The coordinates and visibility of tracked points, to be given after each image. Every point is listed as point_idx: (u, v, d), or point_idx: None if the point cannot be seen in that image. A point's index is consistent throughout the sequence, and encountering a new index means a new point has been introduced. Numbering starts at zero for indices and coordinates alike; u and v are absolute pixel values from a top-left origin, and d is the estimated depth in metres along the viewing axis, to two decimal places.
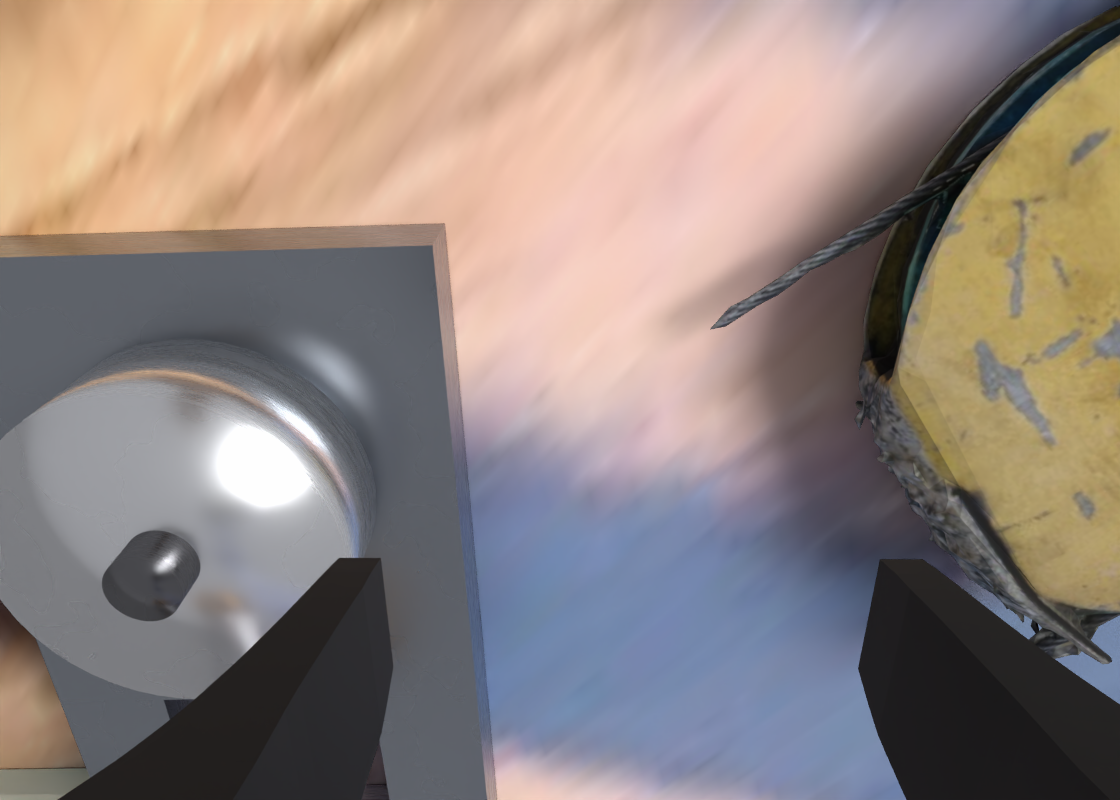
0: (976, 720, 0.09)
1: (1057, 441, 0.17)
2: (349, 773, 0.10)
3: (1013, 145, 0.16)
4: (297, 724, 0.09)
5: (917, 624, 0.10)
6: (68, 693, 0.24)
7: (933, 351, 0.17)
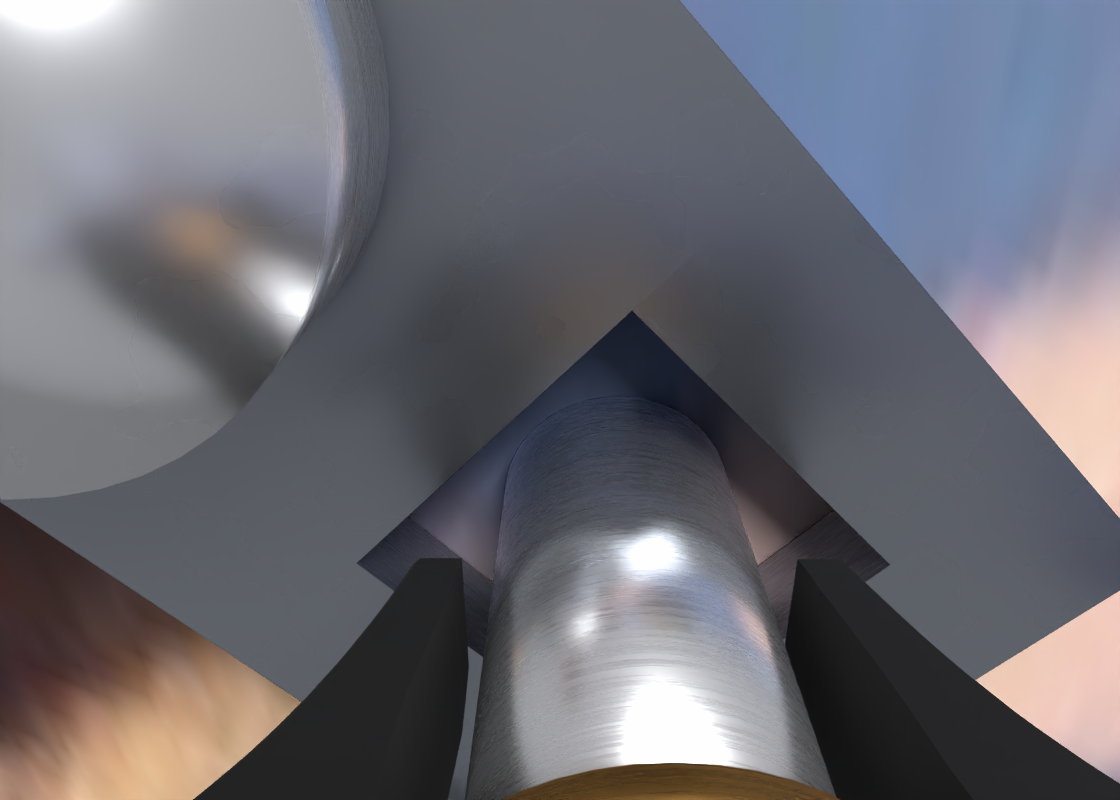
0: (871, 720, 0.09)
1: None
2: (440, 774, 0.10)
3: None
4: (407, 725, 0.09)
5: (825, 624, 0.10)
6: (242, 644, 0.14)
7: None
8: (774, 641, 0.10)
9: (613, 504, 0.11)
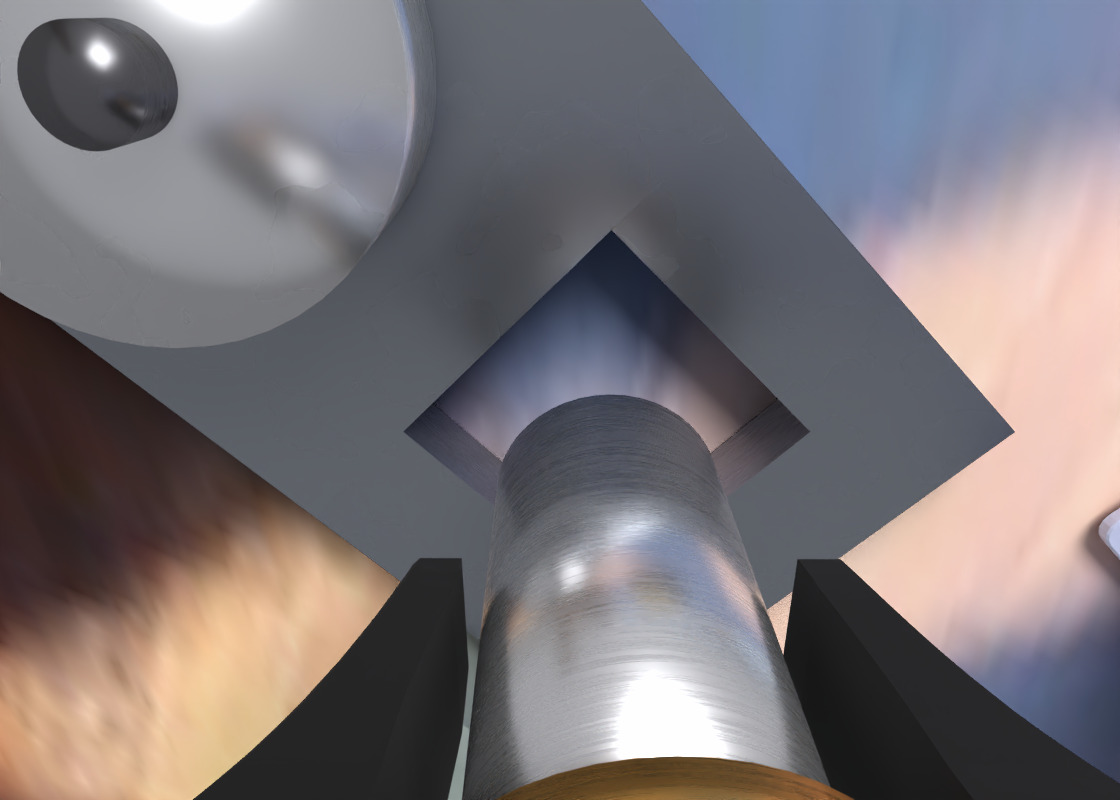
0: (871, 720, 0.09)
1: None
2: (440, 773, 0.10)
3: None
4: (407, 724, 0.09)
5: (825, 624, 0.10)
6: (313, 500, 0.18)
7: None
8: (767, 635, 0.10)
9: (606, 502, 0.11)
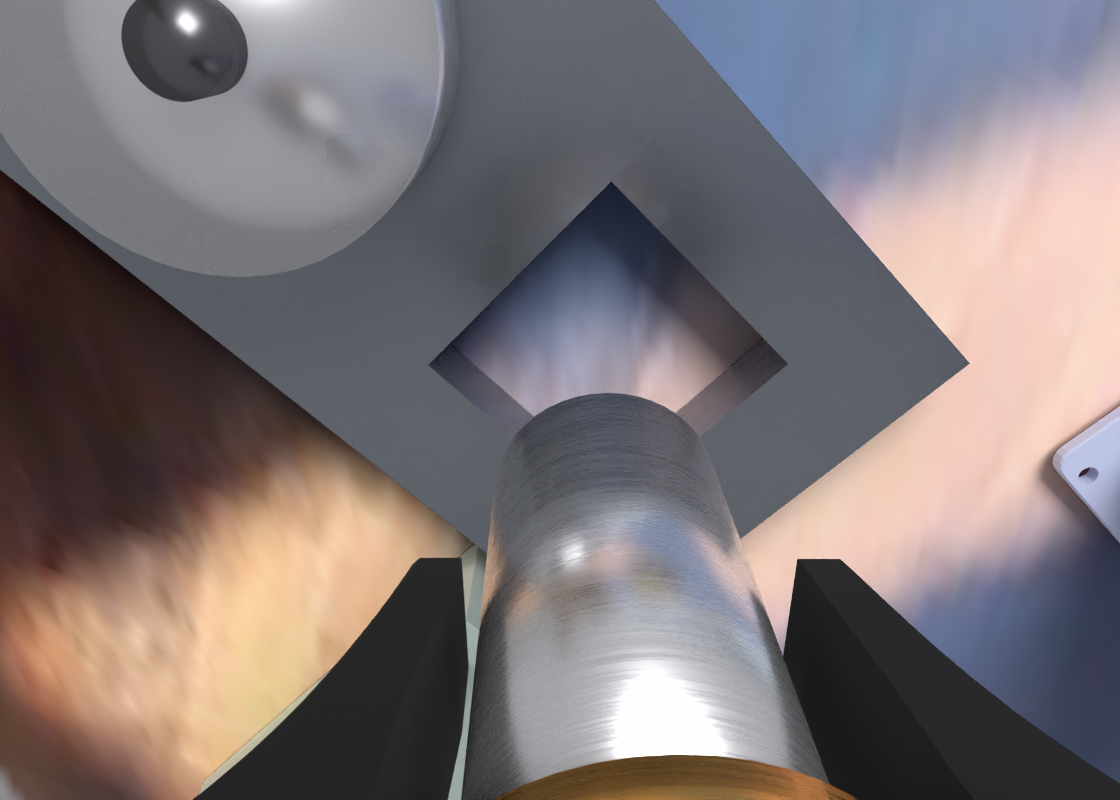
0: (872, 720, 0.09)
1: None
2: (440, 774, 0.10)
3: None
4: (406, 724, 0.09)
5: (825, 624, 0.10)
6: (347, 428, 0.20)
7: None
8: (766, 634, 0.10)
9: (604, 501, 0.11)
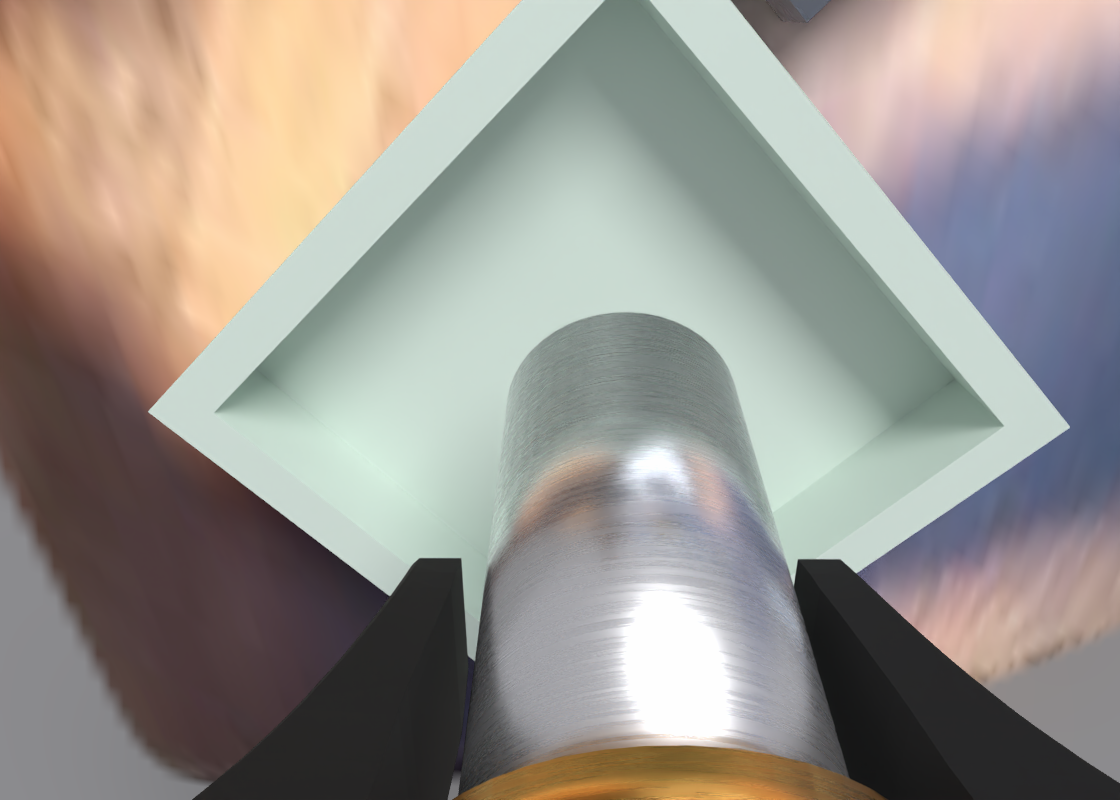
0: (872, 720, 0.09)
1: None
2: (440, 773, 0.10)
3: None
4: (405, 725, 0.09)
5: (826, 624, 0.10)
6: None
7: None
8: (785, 589, 0.09)
9: (622, 438, 0.10)
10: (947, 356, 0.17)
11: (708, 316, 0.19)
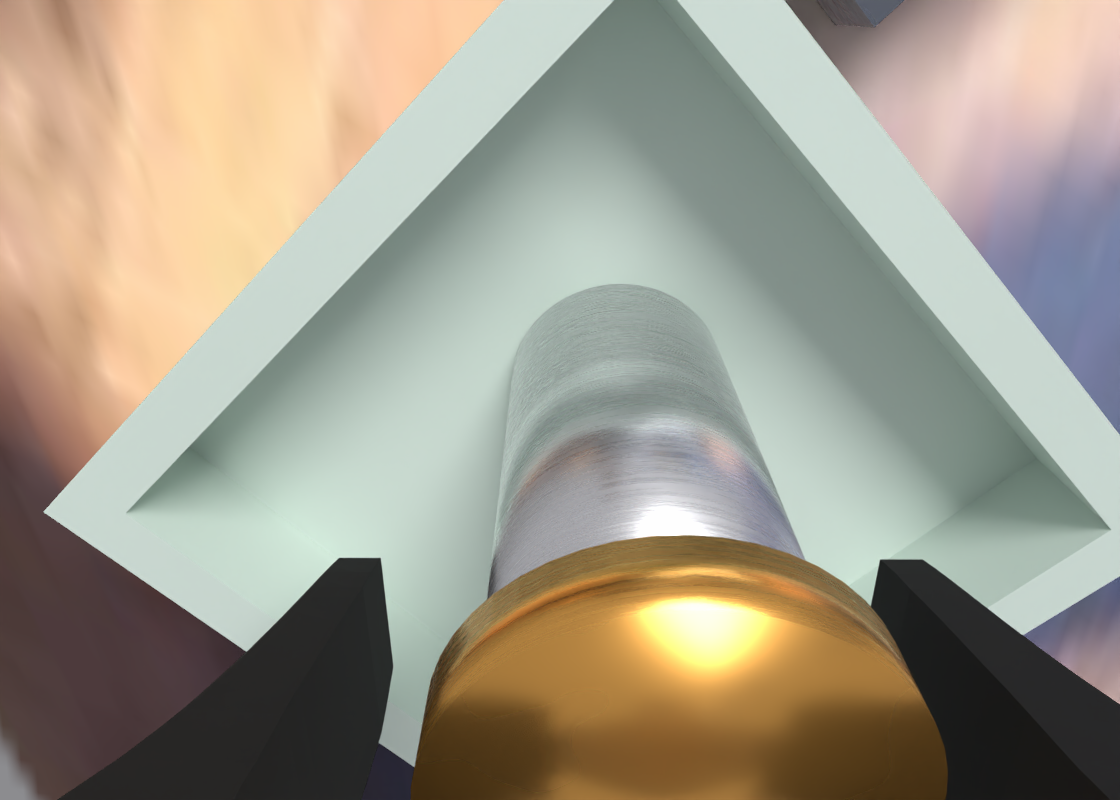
0: (976, 720, 0.09)
1: None
2: (349, 773, 0.10)
3: None
4: (298, 724, 0.09)
5: (917, 624, 0.10)
6: None
7: None
8: (769, 481, 0.11)
9: (620, 365, 0.12)
10: (1045, 446, 0.14)
11: (738, 385, 0.16)
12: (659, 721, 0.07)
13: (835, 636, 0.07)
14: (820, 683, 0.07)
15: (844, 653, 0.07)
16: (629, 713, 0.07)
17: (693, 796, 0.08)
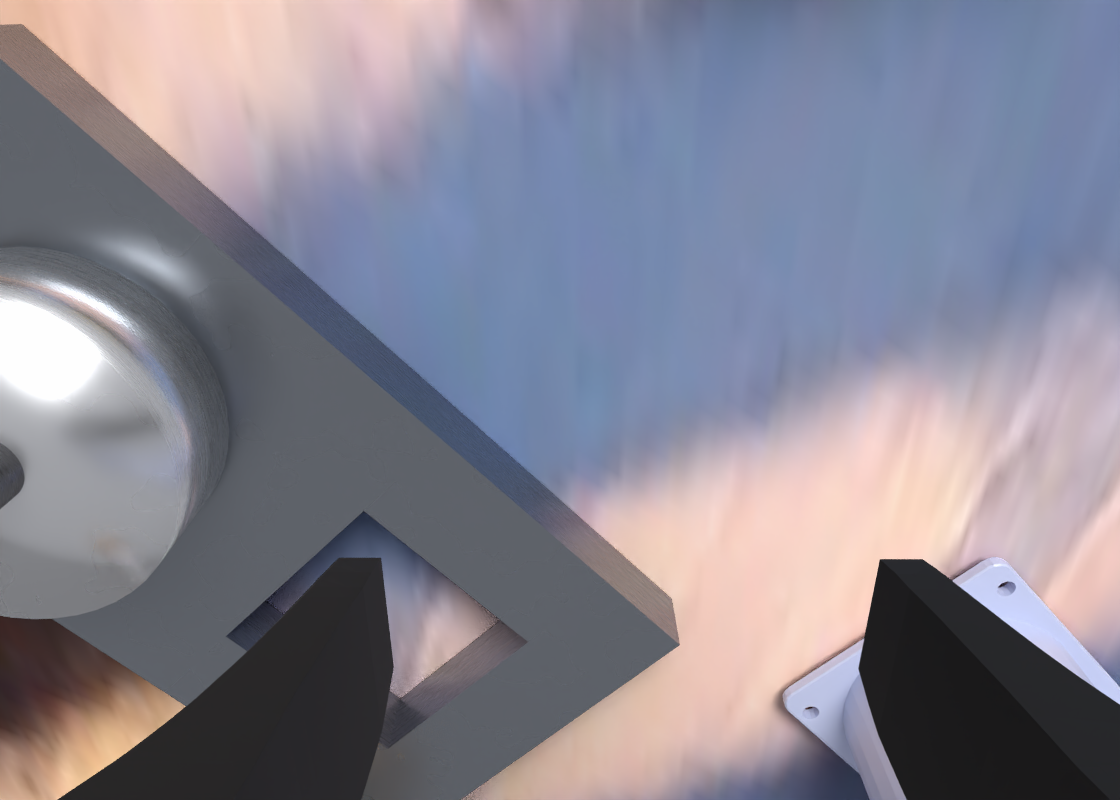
0: (976, 720, 0.09)
1: None
2: (350, 773, 0.10)
3: None
4: (298, 723, 0.09)
5: (917, 624, 0.10)
6: (162, 680, 0.24)
7: None
8: None
9: None
10: None
11: None
12: None
13: None
14: None
15: None
16: None
17: None
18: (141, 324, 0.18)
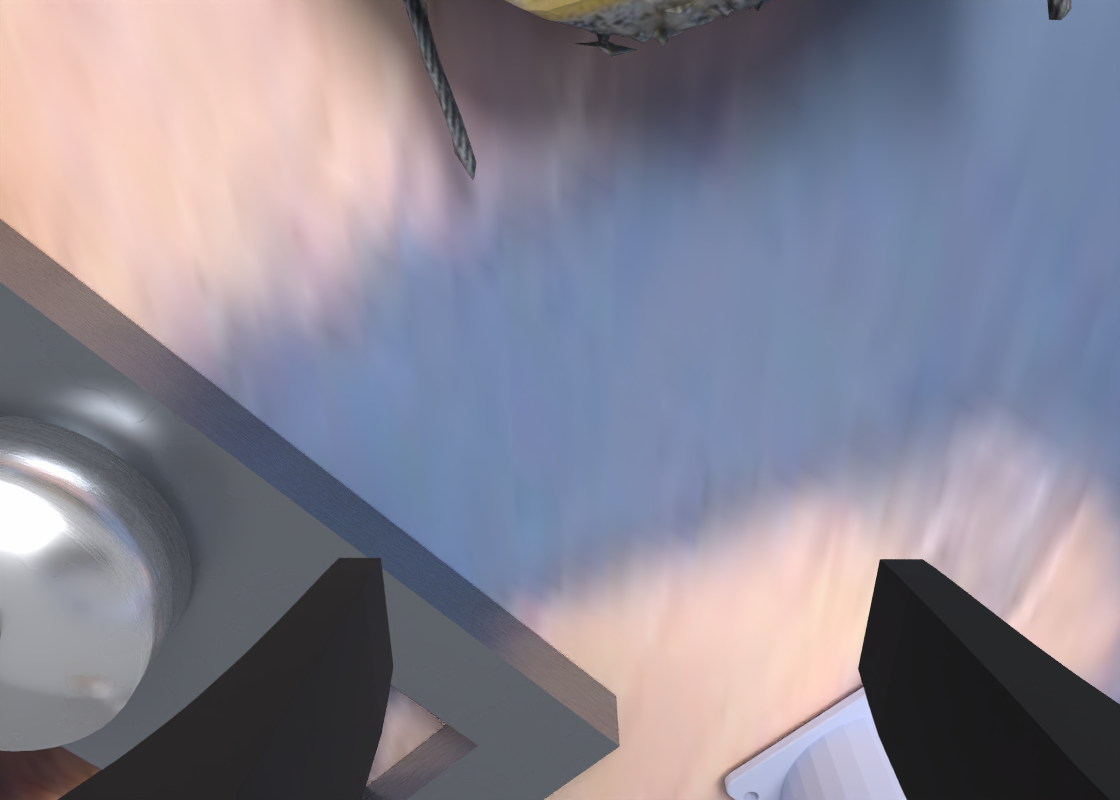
0: (976, 720, 0.09)
1: None
2: (349, 773, 0.10)
3: None
4: (297, 723, 0.09)
5: (917, 624, 0.10)
6: None
7: None
8: None
9: None
10: None
11: None
12: None
13: None
14: None
15: None
16: None
17: None
18: (104, 489, 0.20)
